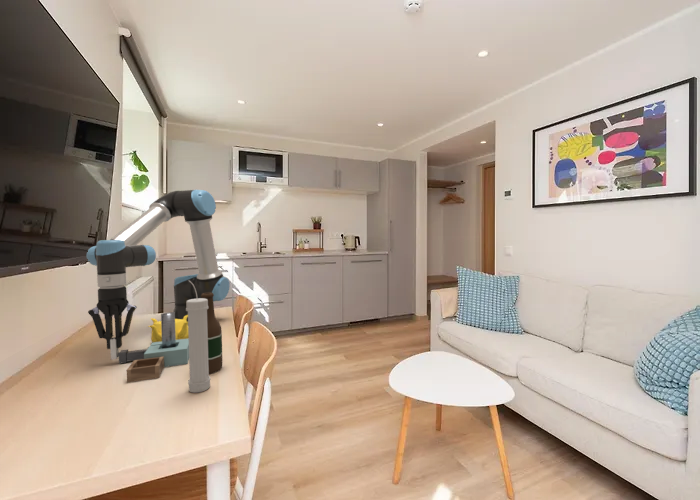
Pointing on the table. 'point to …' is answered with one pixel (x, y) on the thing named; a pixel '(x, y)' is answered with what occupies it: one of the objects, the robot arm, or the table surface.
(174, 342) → the cylinder
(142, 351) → the block
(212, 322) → the beer bottle
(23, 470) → the table surface
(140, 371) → the brown wooden tray
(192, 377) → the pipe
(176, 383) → the table surface
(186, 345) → the chuck block
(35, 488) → the table surface
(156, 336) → the teapot
